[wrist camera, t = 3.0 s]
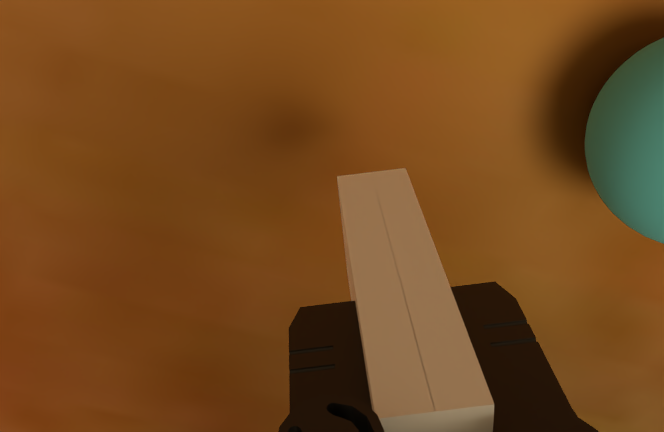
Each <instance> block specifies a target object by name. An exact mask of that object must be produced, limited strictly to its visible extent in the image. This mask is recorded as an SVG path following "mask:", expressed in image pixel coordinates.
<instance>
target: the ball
mask: <svg viewBox="0 0 664 432" xmlns="http://www.w3.org/2000/svg"><path fill="white" fill-rule="evenodd" d="M585 156H586V162H587V167H588V172H589V175H590V177H591V180H592V182H593V185H594V187H595V189H596V191H597V192H598V194H599V196H600V198H601V199H602V200H603V202H604V203H605V204H606V206H607V207H608V208H609V209H610V210H611V212H612V213H613V214H614V215H616V216H617V217H618V218H619V219H620V220H621V221H623V222H624V223H625V224H626V225H627V226H629V227H630V228H632V229H634V230H635V231H637V232H639V233H640V234H642V235H644V236H646V237H648V238H650V239H653V240H655V241H658V242H661V243H663V244H664V38H661V39H659V40H657V41H655V42H653V43H651V44H649V45H647V46H646V47H644V48H643V49H641V50H640V51H638V52H636V53H635V54H634V55H633V56H631V57H630V58H629V59H628V60H626V61H625V62H624V63H623V64H622V65H621V66H620V67H619V68H618V69H617V70H616V71H615V72H614V73H613V74H612V76H611V77H610V78H609V79H608V80H607V82H606V83H605V85H604V86H603V88H602V89H601V91H600V92H599V94H598V96H597V98H596V100H595V102H594V104H593V106H592V109H591V112H590V114H589V118H588V122H587V126H586V134H585Z"/></svg>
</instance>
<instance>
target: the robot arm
mask: <svg viewBox="0 0 664 432" xmlns="http://www.w3.org/2000/svg"><path fill="white" fill-rule="evenodd" d="M337 182H338V192H339V201H340V210H341V219H342V228H343V237H344V247H345V256H346V265H347V274H348V281H349V288H350V295H351V301H348V302H340V303H332V304H324V305H315V306H307V307H300V309H299V310H298V312H297V314H296V316H295V318H294V320H293V322H292V323H291V325H290V327H289V353H290V355H289V370H290V374H289V378H290V414H289V415H288V417H287V418H286V419H285V421H284V422H283V423H282V425H281V426H280V428H279V432H598V430H596V429H595V428H593V427H592V426H590V425H589V424H587V423H586V422H584V421H583V420H581V419H580V418H578V417H577V415H576V414H575V412H574V411H573V409H572V408H571V406H570V404H569V402H568V400H567V398H566V396H565V394H564V392H563V390H562V388H561V386H560V384H559V382H558V380H557V378H556V377H555V375H554V373H553V371H552V369H551V367H550V365H549V363H548V361H547V359H546V357H545V355H544V353H543V351H542V349H541V347H540V345H539V343H538V342H536V337H535V335H534V333H533V331H532V330H531V328H530V326H529V324H527V320H526V318H525V316H524V314H523V312H522V310H521V308H520V306H519V304H518V302H517V300H516V298H514V297H513V296H512V295H511V294H509V293H508V292H507V291H506V290H505V289H503V288H502V287H501V286H500V285H498V284H497V283H496V282H488V283H480V284H472V285H464V286H456V287H450V285H449V282H448V280H447V277H446V274H445V272H444V269H443V266H442V264H441V261H440V258H439V256H438V253H437V250H436V248H435V245H434V242H433V240H432V237H431V234H430V232H429V229H428V226H427V224H426V221H425V218H424V216H423V213H422V210H421V208H420V205H419V203H418V200H417V197H416V195H415V192H414V189H413V187H412V184H411V181H410V179H409V176H408V173H407V171H406V168H401V169H393V170H385V171H377V172H368V173H360V174H352V175H344V176H337Z"/></svg>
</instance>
